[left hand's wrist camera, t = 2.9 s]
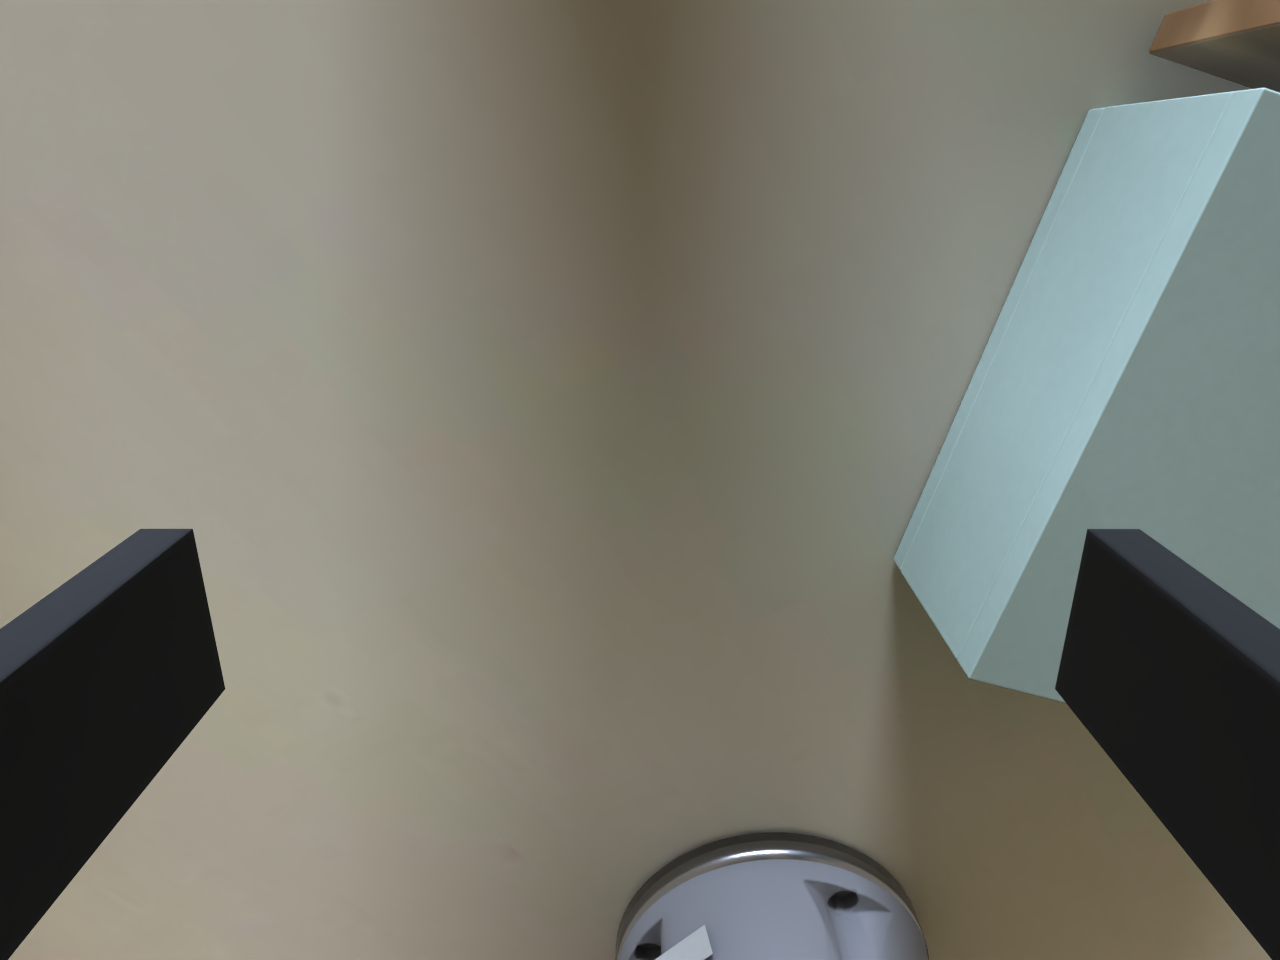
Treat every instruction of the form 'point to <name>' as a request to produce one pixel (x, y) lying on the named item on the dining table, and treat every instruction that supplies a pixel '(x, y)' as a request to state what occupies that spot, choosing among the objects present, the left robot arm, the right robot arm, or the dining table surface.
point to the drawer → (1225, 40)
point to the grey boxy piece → (1118, 388)
